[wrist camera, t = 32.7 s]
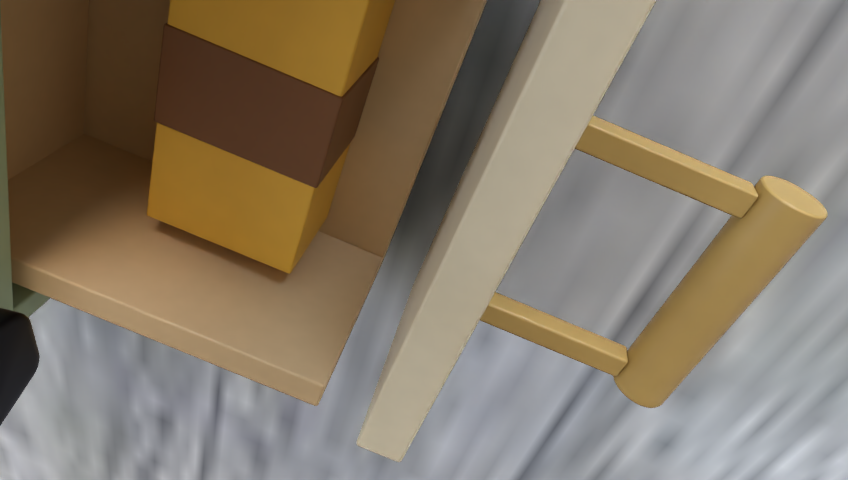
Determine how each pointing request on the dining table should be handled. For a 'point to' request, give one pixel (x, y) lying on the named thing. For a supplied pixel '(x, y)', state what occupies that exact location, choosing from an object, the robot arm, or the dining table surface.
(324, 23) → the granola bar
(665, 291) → the dining table surface
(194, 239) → the drawer
